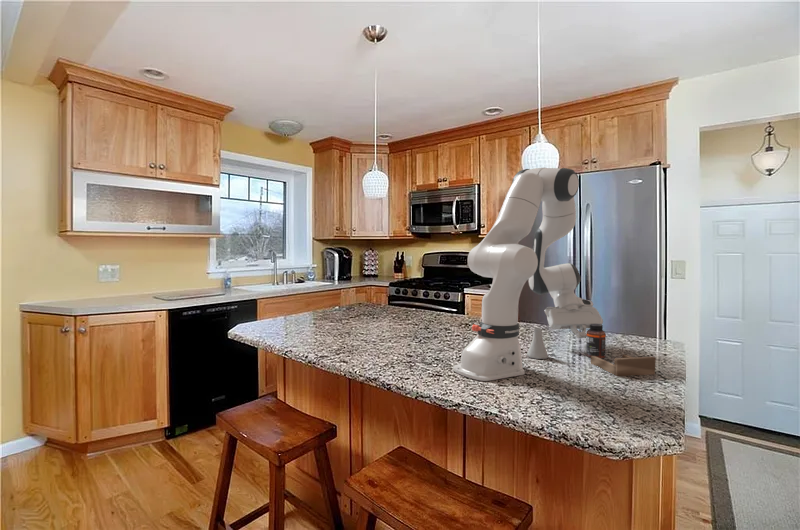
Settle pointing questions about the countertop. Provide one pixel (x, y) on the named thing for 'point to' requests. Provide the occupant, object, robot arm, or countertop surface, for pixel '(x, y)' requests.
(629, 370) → the walnut bay
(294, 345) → the countertop surface
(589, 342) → the supplement bottle
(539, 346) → the flask
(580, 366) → the countertop surface
